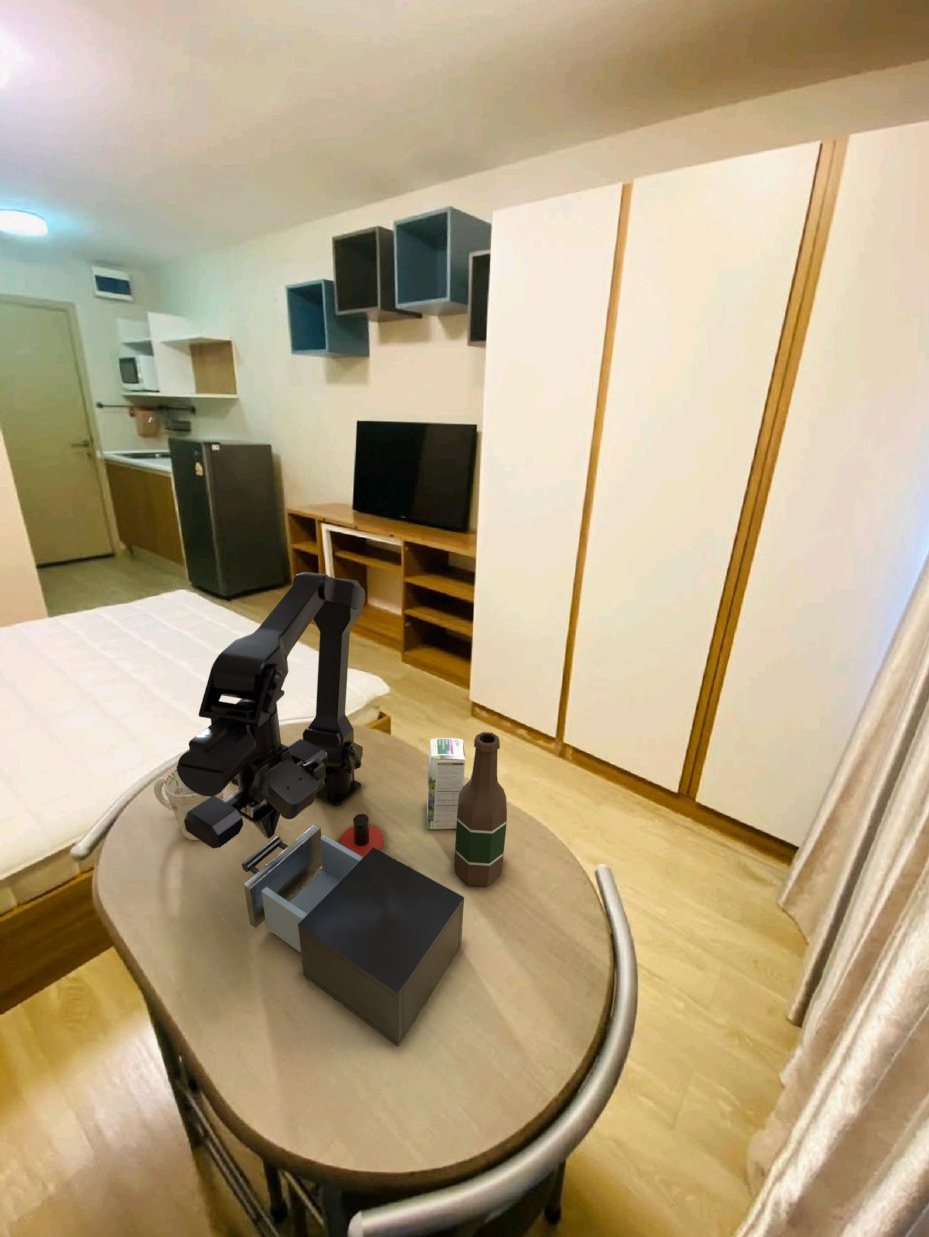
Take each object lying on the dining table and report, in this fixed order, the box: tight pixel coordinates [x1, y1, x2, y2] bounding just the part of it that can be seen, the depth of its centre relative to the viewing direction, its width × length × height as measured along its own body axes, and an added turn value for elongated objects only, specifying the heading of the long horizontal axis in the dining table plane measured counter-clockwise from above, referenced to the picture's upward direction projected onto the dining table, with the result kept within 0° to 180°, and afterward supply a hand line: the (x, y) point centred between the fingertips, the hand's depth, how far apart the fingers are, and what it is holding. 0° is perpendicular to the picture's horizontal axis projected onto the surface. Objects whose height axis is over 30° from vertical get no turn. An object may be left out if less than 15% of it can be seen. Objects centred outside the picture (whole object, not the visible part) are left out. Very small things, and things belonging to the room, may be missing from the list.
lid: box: [339, 813, 385, 857], centre depth 82 cm, size 7×7×5 cm
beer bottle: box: [454, 731, 508, 887], centre depth 75 cm, size 8×8×24 cm
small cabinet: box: [298, 847, 465, 1048], centre depth 64 cm, size 15×14×9 cm
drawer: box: [241, 823, 363, 954], centre depth 70 cm, size 18×12×7 cm
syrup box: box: [426, 737, 466, 830], centre depth 87 cm, size 6×6×14 cm
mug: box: [153, 768, 224, 841], centre depth 84 cm, size 8×13×10 cm, turn 78°
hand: (269, 836), depth 72 cm, fingers closed
